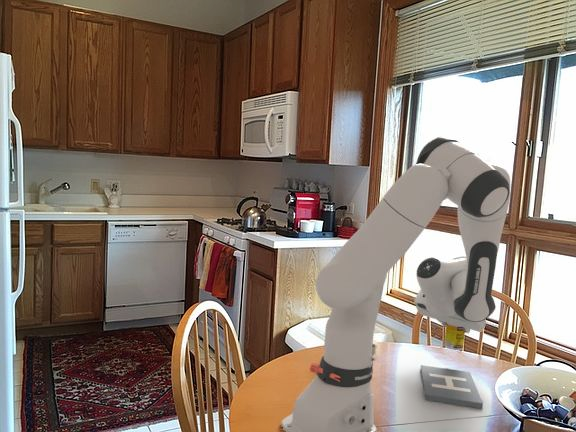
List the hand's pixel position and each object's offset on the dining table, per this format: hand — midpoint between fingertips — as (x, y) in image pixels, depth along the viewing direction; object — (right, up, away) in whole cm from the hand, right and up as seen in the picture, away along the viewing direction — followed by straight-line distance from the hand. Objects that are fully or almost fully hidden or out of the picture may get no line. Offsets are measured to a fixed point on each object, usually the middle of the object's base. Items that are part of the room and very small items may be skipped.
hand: (456, 327), depth 148 cm
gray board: (-7, -13, -14) cm, 21 cm away
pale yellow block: (-28, -11, +4) cm, 30 cm away
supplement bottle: (-1, -6, 0) cm, 6 cm away
